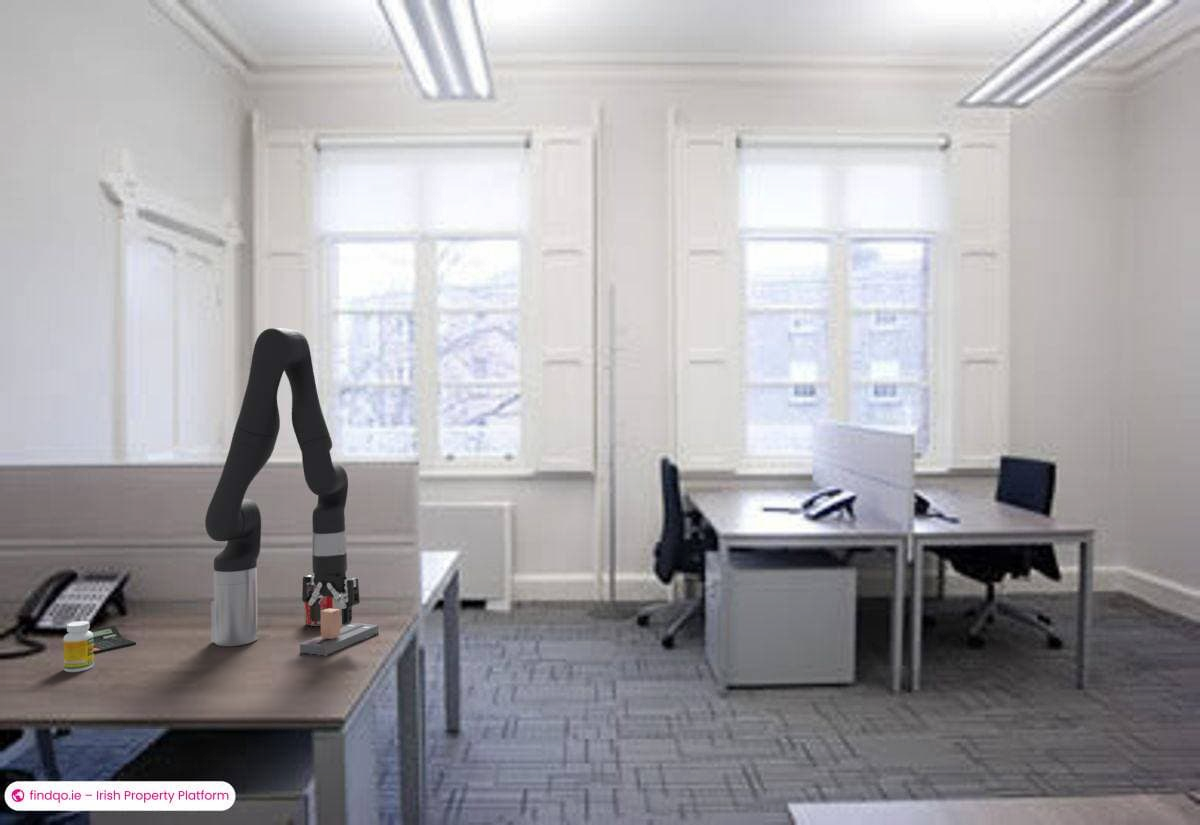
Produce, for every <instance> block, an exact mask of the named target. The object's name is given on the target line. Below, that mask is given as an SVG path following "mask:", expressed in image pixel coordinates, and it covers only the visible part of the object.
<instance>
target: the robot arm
mask: <svg viewBox="0 0 1200 825" xmlns="http://www.w3.org/2000/svg"><path fill="white" fill-rule="evenodd" d="M308 342H309V341H308V339H307V338H306V336H305V335H304V334H303V333H302V332H300V331H299V330H296V329H294V328H293V329H292V328H282V327H281V328H280V327H270V328H266V329H265V330H263V331H262V332H261V333H260V334H259V335H258V337H257V338H256V340H255V343H254V348H253V351H252V357H251V363H250V368H249V369H250V370H249V375H248V380H247V384H246V390H245V393H244V397H243V400H242V404H241V408H240V411H239V415H238V417H237V420H236V424H235V427H234V430H233V434H232V437H231V438H232V439H231V442H230V446H229V451H228V453H227V456H226V459H225V463H224V465H223V469H222V472H221V474H220V477H219V481H218V483H217V485H216V488H215V491H214V493H213V495H212V498H211V500H210V503H209V506H208V507H207V511H206V515H205V521H204V522H205V523H204V524H205V525H204V526H205V531H206V533H207V535H208V537H210V539H211V540H212V541H216V542H226V546H225V547H224V549H223V550H222V551H220V553H219V554H217V555H216V556H215V557H214V558H213V594H214V595H213V597H214V598H213V599H214V600H212V601H210V602H211V603H210V624H211V626H210V628H211V630H210V632H211V633H210V634H211V636H210V638H211V643H214V644H215V645H216V646H220V647H235V646H242V645H247V644H248V645H249V644H250V643H253V642H256V641H257V640H258V575H257V574H258V568H257V567H258V566H257V564H258V558H259V555H260V552H261V542H262V541H261V538H262V537H261V535H262V516H261V511H260V509H259V507H258V505H257V503H256V501H254V500H252V499H250V498H247V497H246V498H245V495H246V492H247V490H248V488H249V486H250V485H251V483H252V481H253V480H254V479H255V477H256V476H257V475H258V474H259V473H260V471H261V470H262V469H263V468H264V466H265V465H266V464H267V462H268V461H269V460H270V458H271V456H272V454H273V452H274V449H275V446H276V443H277V440H278V437H279V433H280V426H281V420H280V419H281V418H280V411H279V405H278V391H279V387H280V383H281V381H282V377H283V374H284V372H285V375H286V377H287V380H288V383H289V385H290V391H291V392H290V393H291V424H292V429H293V431H294V434H295V437H296V441H297V444H298V447H299V449H300V451H301V459H302V468H303V476H304V479H305V482H306V484H307V485H306V486H307V487H308V489H309V490H310V492H312V493H313V494H314V495H316V496H317V505H316V507H315V508H314V509H313V511H312V538H311V560H312V561H311V562H312V563H311V565H312V566H311V567H312V569H311V570H312V574H308V575H305V576H303V577H302V592H301V593H302V595H301V596H302V598H301V599H302V602H303V603H304V602H307V603H309V605H310V612H311V613H310V617H311V619H312V622H317V621H319V620H320V619H321V608H320V604H319V603H320V601H321V599H322V598H323V597H325V596H329V597H334V599H335V600H336V601H337V602H338V603H339V605H340V606H341V607H342V608H341V625H344V626H347V625H350V624H351V622H352V621H353V610H352V609H353V606H357V605H359V604H360V601H361V600H360V589H359V588H360V587H359V579H358V577H353V578H347V576H346V575H347V574H346V573H347V571H348V552H347V551H348V549H347V546H348V545H347V537H346V536H347V535H346V521H345V520H346V518H345V516H346V515H345V508H346V504H347V499H348V498H347V497H348V489H349V479H348V474H347V471H346V469H345V468H344V467H343V466H342V465H340V464H338V463H335V462H334V463H333V461H332V455H331V449H332V448H333V440H332V438H331V435H330V432H329V428H328V426H327V423H326V420H325V416H324V413H323V411H322V407H321V404H320V398H319V396H318V395H319V394H318V389H317V384H316V383H317V382H316V379H315V372H314V367H313V362H312V361H313V360H312V355H311V350H310V346H309V343H308ZM314 575H315V576H314ZM314 584H315V586H316V589H315V590H314Z"/></svg>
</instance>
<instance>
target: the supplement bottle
mask: <svg viewBox="0 0 1200 825" xmlns="http://www.w3.org/2000/svg"><path fill="white" fill-rule="evenodd" d="M90 627H91V626H90V621H87V620H80V621H73V622H69V623H67V624H66V631H67V633H66V634H65V635H64V636H63V670H64V671H65V672H67V673H79V672H84V671H88V670H90V669H91V668H93V666H94V662H95V661H94V656H95V654H93V633H92V632H91V631H89V630H90Z"/></svg>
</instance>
